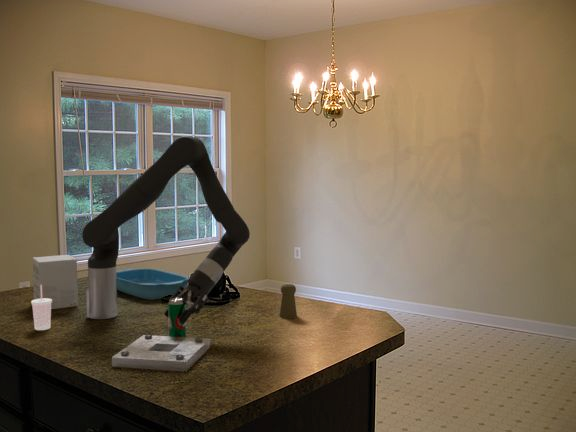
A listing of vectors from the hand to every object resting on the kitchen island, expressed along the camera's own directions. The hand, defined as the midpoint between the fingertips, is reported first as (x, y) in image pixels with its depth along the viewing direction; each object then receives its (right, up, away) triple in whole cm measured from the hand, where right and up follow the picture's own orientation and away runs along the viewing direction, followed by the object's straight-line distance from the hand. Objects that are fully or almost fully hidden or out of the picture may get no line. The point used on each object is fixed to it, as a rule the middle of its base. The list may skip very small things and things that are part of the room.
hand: (173, 319), depth 175 cm
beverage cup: (-44, -5, +12) cm, 46 cm away
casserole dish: (-22, -1, +65) cm, 69 cm away
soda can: (+1, -6, +1) cm, 6 cm away
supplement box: (-52, -2, +43) cm, 67 cm away
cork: (+34, -4, +28) cm, 44 cm away
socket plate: (0, -8, -15) cm, 16 cm away
